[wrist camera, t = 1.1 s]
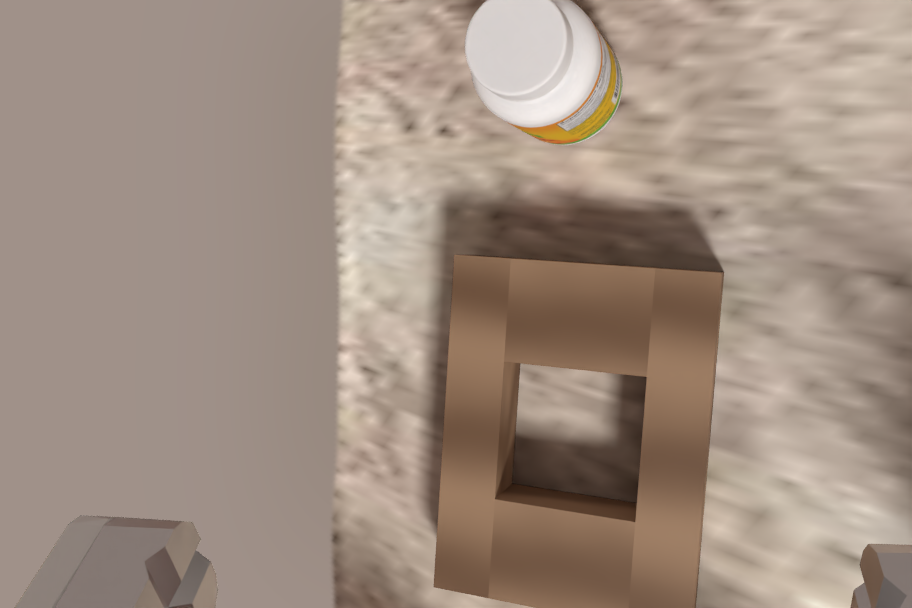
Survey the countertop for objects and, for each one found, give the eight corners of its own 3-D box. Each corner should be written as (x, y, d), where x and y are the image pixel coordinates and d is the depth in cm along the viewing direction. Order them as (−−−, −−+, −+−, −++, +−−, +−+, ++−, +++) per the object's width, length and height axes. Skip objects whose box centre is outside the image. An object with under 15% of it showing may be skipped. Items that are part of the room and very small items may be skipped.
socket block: (474, 255, 43) (454, 254, 40) (723, 271, 39) (721, 273, 37) (454, 566, 44) (433, 586, 42) (695, 612, 41) (690, 639, 38)
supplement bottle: (491, 93, 43) (418, 48, 33) (569, 8, 41) (515, -64, 32) (565, 170, 42) (511, 144, 32) (648, 85, 40) (616, 34, 31)
